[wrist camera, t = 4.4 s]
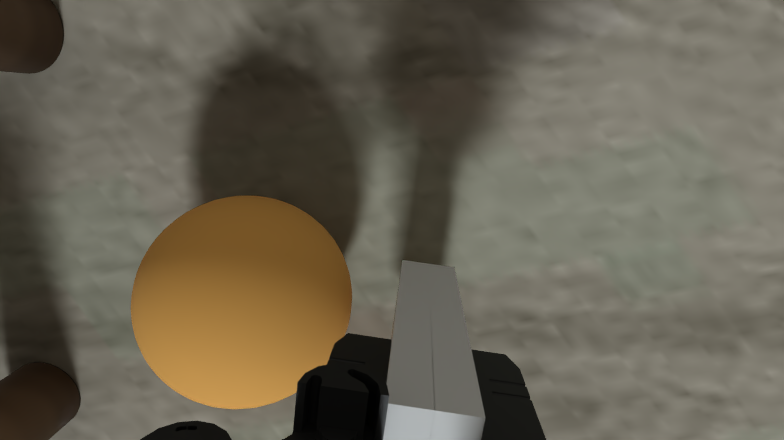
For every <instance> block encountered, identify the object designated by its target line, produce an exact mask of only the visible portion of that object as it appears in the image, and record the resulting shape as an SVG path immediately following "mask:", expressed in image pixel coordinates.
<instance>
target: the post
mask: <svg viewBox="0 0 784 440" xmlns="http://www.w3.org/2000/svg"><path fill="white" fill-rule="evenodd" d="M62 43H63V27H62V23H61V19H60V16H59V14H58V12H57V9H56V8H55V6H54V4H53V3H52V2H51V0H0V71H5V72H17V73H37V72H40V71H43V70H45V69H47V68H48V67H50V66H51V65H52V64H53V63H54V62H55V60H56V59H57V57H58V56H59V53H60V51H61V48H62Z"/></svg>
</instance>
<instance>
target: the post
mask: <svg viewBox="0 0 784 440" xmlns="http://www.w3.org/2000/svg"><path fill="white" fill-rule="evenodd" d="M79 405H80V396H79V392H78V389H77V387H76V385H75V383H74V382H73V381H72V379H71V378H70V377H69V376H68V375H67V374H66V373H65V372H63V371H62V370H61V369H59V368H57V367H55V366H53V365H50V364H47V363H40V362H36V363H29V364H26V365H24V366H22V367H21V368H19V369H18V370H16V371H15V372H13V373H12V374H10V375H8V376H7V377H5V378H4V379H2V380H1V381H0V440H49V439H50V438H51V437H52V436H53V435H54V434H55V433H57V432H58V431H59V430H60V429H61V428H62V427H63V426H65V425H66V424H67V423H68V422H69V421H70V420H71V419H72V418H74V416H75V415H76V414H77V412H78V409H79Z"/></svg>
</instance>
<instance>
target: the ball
mask: <svg viewBox="0 0 784 440" xmlns="http://www.w3.org/2000/svg"><path fill="white" fill-rule="evenodd" d="M351 303H352V288H351V281H350V275H349V271H348V268H347V265H346V262H345V259H344V257H343V254H342V252H341V251H340V249H339V247H338V245H337V244H336V242H335V240H334V239H333V238H332V236H331V235H330V234H329V233H328V231H327V230H326V229H325V228H324V227H323V226H322V225H321V224H320V223H319V222H317V221H316V220H315V219H314V218H313V217H312V216H310V215H309V214H307V213H306V212H304V211H302V210H301V209H299V208H297V207H295V206H293V205H291V204H288V203H286V202H283V201H280V200H277V199H273V198H268V197H262V196H232V197H226V198H221V199H216V200H213V201H211V202H208V203H205V204H202V205H200V206H198V207H196V208H194V209H192V210H190V211H188V212H186V213H185V214H183V215H182V216H180V217H179V218H177V219H176V220H175V221H174V222H173V223H171V224H170V225H169V226H168V227H167V228H166V229H164V231H163V232H162V233H161V234H160V235H159V236H158V237H157V238H156V239H155V241H154V242H153V243H152V245H151V246H150V247H149V249H148V251H147V252H146V254H145V256H144V257H143V260H142V262H141V264H140V266H139V268H138V271H137V274H136V277H135V281H134V286H133V291H132V298H131V318H132V325H133V330H134V334H135V338H136V341H137V343H138V346H139V348H140V350H141V352H142V354H143V357H144V359H145V360H146V362H147V363H148V364H149V366H150V367H151V369H152V370H153V371H154V372H155V374H156V375H157V376H158V377H159V378H160V379H161V380H162V381H163V382H164V383H165V384H167V385H168V386H169V387H170V388H172V389H173V390H174V391H176V392H178V393H179V394H181V395H183V396H185V397H187V398H188V399H190V400H192V401H195V402H198V403H201V404H204V405H208V406H211V407H217V408H226V409H245V408H256V407H260V406H264V405H268V404H271V403H275V402H277V401H279V400H282V399H284V398H286V397H288V396H291V395H292V394H294V393H296V392H297V382H298V381H299V380H300V379H301V377H302V376H303V375H304V374H305V373H306V372H308V371H310V370H312V369H314V368H316V367H318V366H322V365H327V363H328V360H329V357H330V354H331V352H332V349H333V346H334V343H336V342H337V341H338V340H340V339H341V338H342V337H344V336H345V333H346V330H347V327H348V323H349V319H350V314H351Z"/></svg>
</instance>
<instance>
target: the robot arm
mask: <svg viewBox="0 0 784 440" xmlns="http://www.w3.org/2000/svg"><path fill="white" fill-rule="evenodd" d="M141 440H232V439H231V438H230V436H229V434H228V433H227V431H225V430H223V429H222V428H220V427H218V426H217V425H215V424H212V423H206V422H201V421H188V422H177V423H174V424H171V425H168V426H165V427H162V428H158V429H157V430H155V431H154V432H152V433H150V434H149V435H147V436H145V437H144V438H142V439H141ZM282 440H546V438H545V435H544V433H543V430H542V427H541V425H540V422H539V419H538V417H537V414H536V411H535V409H534V406H533V403H532V401H531V400H530V395H529V393H528V390H527V387H525V382H524V379H523V377H522V374H521V371H520V369H519V368H518V367H517V366H516V365H515V364H514V363H513V362H512V361H511V360H510V359H509V358H508V357H507V356H506V355H505V354H498V353H491V352H484V351H478V350H471V345H470V340H469V335H468V330H467V326H466V321H465V316H464V311H463V306H462V301H461V296H460V291H459V287H458V282H457V277H456V272H455V267H449V266H442V265H435V264H428V263H421V262H414V261H407V260H402V265H401V273H400V280H399V287H398V294H397V301H396V308H395V315H394V323H393V330H392V337H391V339H384V338H377V337H370V336H363V335H357V334H350V333H348V334H346V335H345V336H344V337H342V338H341V339H340V340H338V341H337V342H336V343H334V346H333V349H332V352H331V354H330V357H329V360H328V363H327V365H322V366H318V367H316V368H314V369H312V370H310V371H308V372H306V373H305V374H304V375H303V376H302V377H301V379H300V380H299V381H298V382H297V394H296V405H295V417H294V428H293V433H292V435H290V436H288V437H287V438H285V439H282Z"/></svg>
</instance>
